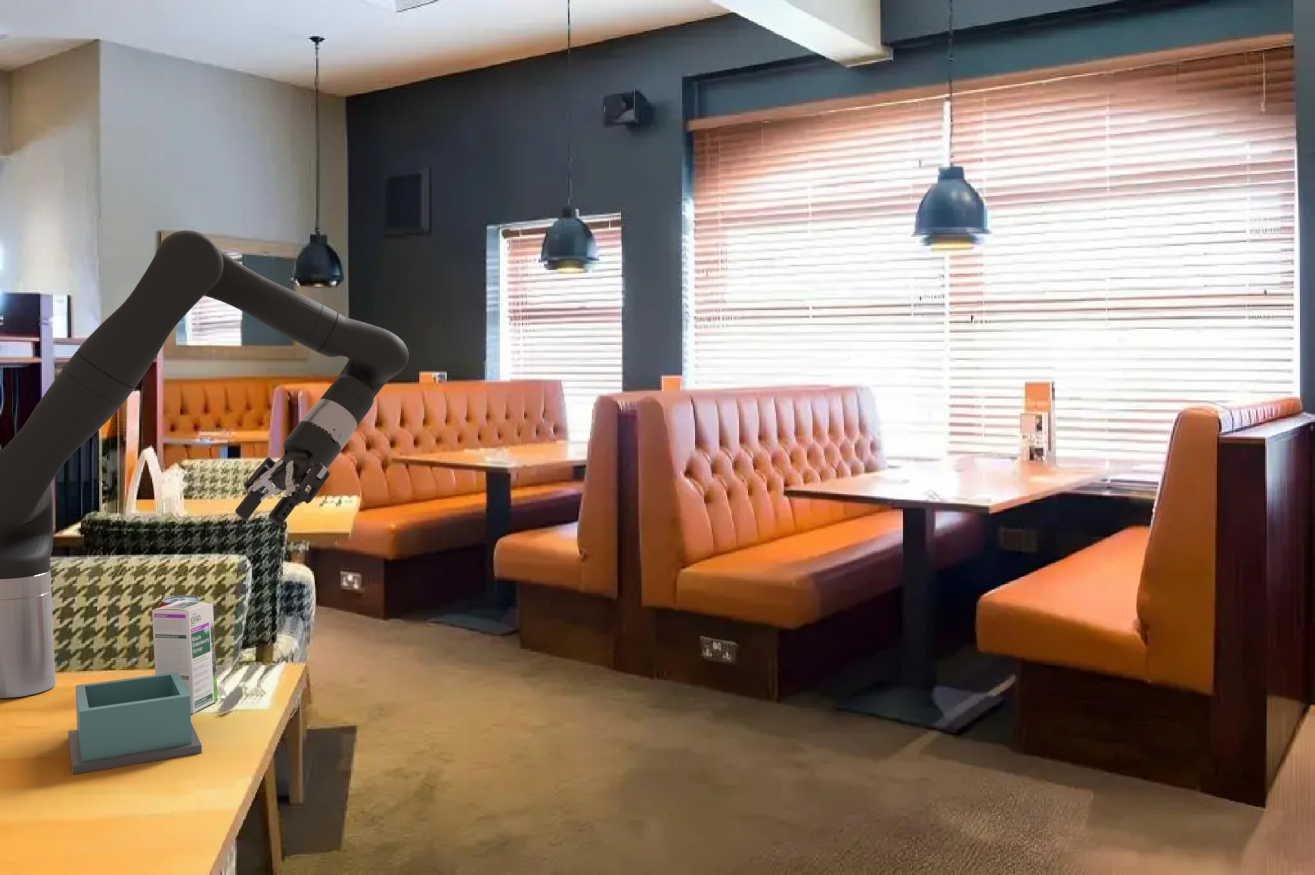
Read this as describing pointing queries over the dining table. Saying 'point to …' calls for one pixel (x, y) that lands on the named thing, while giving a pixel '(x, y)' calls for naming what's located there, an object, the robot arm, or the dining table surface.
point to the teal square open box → (131, 722)
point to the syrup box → (187, 648)
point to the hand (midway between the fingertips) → (256, 518)
